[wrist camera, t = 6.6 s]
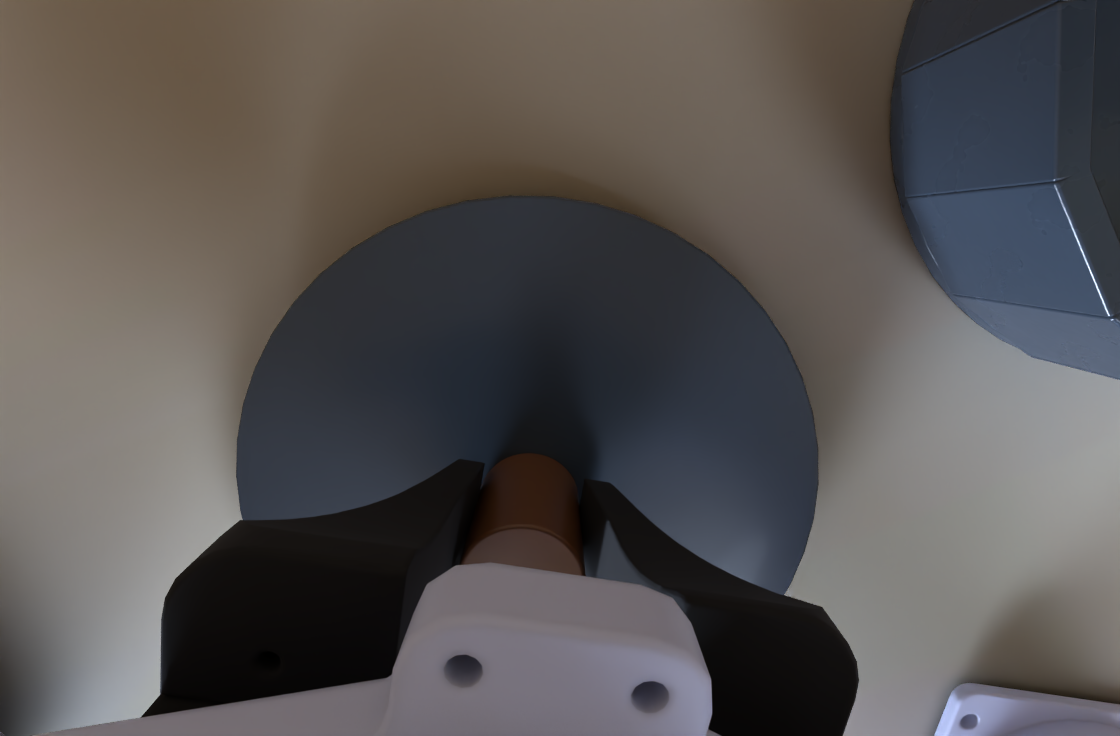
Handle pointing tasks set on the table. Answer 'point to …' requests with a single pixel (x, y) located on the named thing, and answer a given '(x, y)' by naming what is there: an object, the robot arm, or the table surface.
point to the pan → (1016, 168)
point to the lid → (538, 387)
